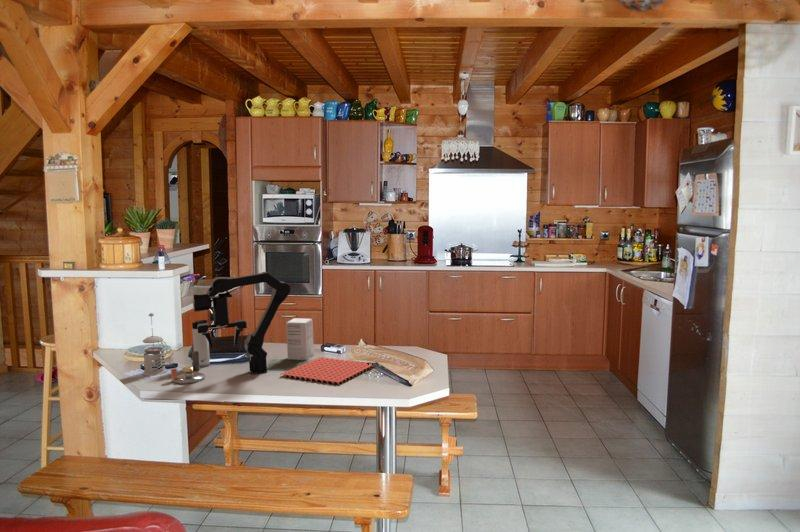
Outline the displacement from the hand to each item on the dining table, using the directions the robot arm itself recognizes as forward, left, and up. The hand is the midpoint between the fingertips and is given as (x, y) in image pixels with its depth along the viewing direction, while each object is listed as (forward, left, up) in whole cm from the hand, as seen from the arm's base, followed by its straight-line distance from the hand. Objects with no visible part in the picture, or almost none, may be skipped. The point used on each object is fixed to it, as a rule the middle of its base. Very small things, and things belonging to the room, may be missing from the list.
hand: (223, 347), depth 244 cm
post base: (+14, +1, -12) cm, 18 cm away
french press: (+29, -15, -12) cm, 34 cm away
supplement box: (-31, -21, -12) cm, 39 cm away
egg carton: (-41, +6, -13) cm, 44 cm away
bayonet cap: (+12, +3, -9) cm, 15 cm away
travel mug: (+11, -19, -12) cm, 25 cm away
